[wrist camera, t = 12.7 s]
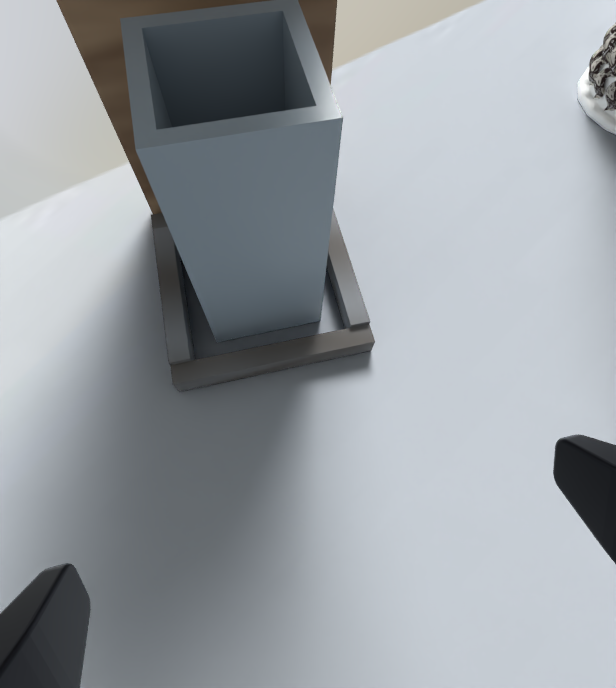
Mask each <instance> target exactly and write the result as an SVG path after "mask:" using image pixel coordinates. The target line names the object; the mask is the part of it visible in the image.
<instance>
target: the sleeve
mask: <svg viewBox="0 0 616 688" xmlns="http://www.w3.org/2000/svg"><path fill="white" fill-rule="evenodd" d="M120 22H121V31H122V39H123V47H124V56H125V64H126V73H127V81H128V90H129V98H130V107H131V115H132V124H133V132H134V141H135V149H136V152H137V154H138V157H139V159H140V161H141V164H142V166H143V168H144V171H145V173H146V176H147V178H148V180H149V183H150V185H151V187H152V190H153V192H154V195H155V197H156V199H157V202H158V204H159V206H160V209H161V211H162V214H163V216H164V218H165V221H166V223H167V225H168V228H169V230H170V233H171V235H172V237H173V240H174V242H175V244H176V247H177V249H178V252H179V254H180V256H181V259H182V261H183V263H184V266H185V268H186V271H187V273H188V275H189V278H190V280H191V282H192V285H193V287H194V290H195V292H196V294H197V297H198V299H199V301H200V304H201V306H202V309H203V311H204V313H205V316H206V318H207V320H208V323H209V325H210V328H211V330H212V332H213V335H214V337H215V339H216V342H222V341H226V340H231V339H236V338H241V337H245V336H250V335H255V334H260V333H265V332H269V331H274V330H279V329H284V328H289V327H293V326H298V325H303V324H308V323H313V322H317V321H320V320H321V311H322V302H323V293H324V284H325V275H326V266H327V257H328V248H329V239H330V230H331V221H332V212H333V203H334V194H335V185H336V176H337V167H338V158H339V149H340V140H341V131H342V122H343V116H342V114H341V111H340V109H339V106H338V103H337V101H336V98H335V96H334V93H333V90H332V88H331V85H330V83H329V80H328V77H327V75H326V72H325V70H324V67H323V64H322V62H321V59H320V57H319V54H318V51H317V49H316V46H315V44H314V41H313V38H312V36H311V33H310V31H309V28H308V25H307V23H306V20H305V18H304V15H303V12H302V10H301V7H300V5H299V2H298V0H271V1H262V2H254V3H245V4H237V5H229V6H220V7H212V8H204V9H195V10H187V11H178V12H170V13H162V14H153V15H145V16H137V17H128V18H120Z"/></svg>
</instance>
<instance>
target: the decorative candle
mask: <svg viewBox="0 0 616 688" xmlns="http://www.w3.org/2000/svg"><path fill="white" fill-rule="evenodd" d="M577 98H578V101H579V102H580V104H581V106H582V107H583V109H584V111H585V112H586V114H587V116H589V117H590V118H591V119H592V120H594V121H595V122H596V123H597V124H598V125H600V126H601V127H602V128H603V129H604V130H606V131H608V132H611V133H613V134H615V135H616V23H615V24H614V25H613V26H612V27H611V28H610V29H609V30H608V31H607V33H606V34H605V37H604V41H603V45H602V46H601V47H600V48H599V50H597V51H596V52H595V53H594V54H593V56H592V57H591V59H590V63H589V67H588V68H587V70H586V71H585V73H584V74H583V76H582V77H581V78H580V80H579V81H578V83H577Z"/></svg>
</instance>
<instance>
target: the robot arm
mask: <svg viewBox="0 0 616 688" xmlns="http://www.w3.org/2000/svg"><path fill="white" fill-rule="evenodd" d="M553 474H554V479H555V482H556V484H557V486H558V487H559V489H560V490H561V491H562V493H563V494H564V495H565V497H566V498H567V500H568V501H569V502H570V504H571V505H572V506H573V508H574V509H575V510H576V512H577V513H578V515H579V516H580V517H581V519H582V520H583V521H584V523H585V524H586V526H587V527H588V528H589V530H590V531H591V532H592V534H593V535H594V536H595V538H596V539H597V541H598V542H599V543H600V545H601V546H602V547H603V549H604V550H605V551H606V552H607V554H608V555H609V556H610V558H611V559H612V560H613V561H614V562H615V564H616V445H613V444H610V443H607V442H603V441H600V440H597V439H594V438H590V437H587V436H584V435H572V436H568V437H564V438H561V439H559V440H558V441H557V443H556V446H555V457H554V470H553ZM89 617H90V599H89V595H88V593H87V591H86V589H85V587H84V585H83V583H82V581H81V578H80V576H79V574H78V572H77V570H76V568H75V567H74V566H73V565H72V564H68V563H67V564H62V565H58V566H54V567H50V568H47V569H45V570H43V571H42V572H41V573H40V574H39V575H38V576H37V577H36V578H35V579H34V580H33V581H32V582H31V583H30V584H29V585H28V586H27V587H26V588H25V589H24V590H23V591H22V592H21V593H20V594H19V595H18V596H17V597H16V598H15V599H14V600H13V601H12V602H11V603H10V604H9V605H8V606H7V607H6V608H5V610H4V611H3V612H2V613H1V614H0V688H80V683H81V675H82V668H83V661H84V653H85V646H86V639H87V631H88V624H89Z"/></svg>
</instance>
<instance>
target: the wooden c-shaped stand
mask: <svg viewBox="0 0 616 688" xmlns="http://www.w3.org/2000/svg"><path fill="white" fill-rule="evenodd" d="M262 1H271V0H57V3H58V5H59V7H60V9H61V12H62V14H63V16H64V18H65V20H66V23H67V25H68V27H69V29H70V31H71V34H72V36H73V38H74V40H75V43H76V45H77V47H78V49H79V51H80V54H81V56H82V58H83V60H84V62H85V65H86V67H87V69H88V71H89V73H90V75H91V78H92V80H93V82H94V85H95V87H96V89H97V91H98V93H99V95H100V98H101V100H102V102H103V104H104V107H105V109H106V111H107V113H108V116H109V118H110V120H111V122H112V124H113V127H114V129H115V131H116V133H117V136H118V138H119V140H120V142H121V144H122V146H123V149H124V151H125V153H126V155H127V158H128V160H129V162H130V164H131V167H132V169H133V171H134V173H135V175H136V178H137V180H138V182H139V184H140V186H141V189H142V191H143V193H144V195H145V198H146V200H147V202H148V204H149V206H150V209H151V211H152V213H153V215H151V219H152V227H153V236H154V244H155V252H156V261H157V269H158V277H159V286H160V294H161V302H162V311H163V319H164V327H165V336H166V344H167V352H168V361H169V364H170V366H171V374H172V382H173V385H174V386H175V388H176V389H177V390H178V391H179V392H181V391H186V390H190V389H195V388H200V387H204V386H209V385H214V384H218V383H223V382H228V381H232V380H237V379H242V378H246V377H251V376H255V375H260V374H265V373H269V372H274V371H279V370H283V369H288V368H293V367H297V366H302V365H307V364H311V363H316V362H321V361H325V360H330V359H335V358H339V357H344V356H349V355H353V354H358V353H363V352H367V351H371V350H372V347H373V345H374V343H375V340H374V337H373V334H372V331H371V328H370V325H369V323H370V319H369V316H368V313H367V310H366V307H365V304H364V301H363V298H362V295H361V292H360V289H359V286H358V283H357V280H356V277H355V273H354V270H353V267H352V264H351V261H350V258H349V255H348V252H347V249H346V246H345V243H344V240H343V237H342V234H341V231H340V228H339V225H338V222H337V218H336V215H335V212H334V209H333V212H332V221H331V230H330V239H329V248H328V257H327V266H326V267H327V270H328V273H329V277H330V280H331V283H332V287H333V290H334V293H335V297H336V300H337V304H338V307H339V310H340V314H341V317H342V320H343V324H344V327H345V329H342V330H337V331H332V332H327V333H323V334H318V335H313V336H308V337H303V338H298V339H294V340H289V341H284V342H279V343H274V344H270V345H265V346H260V347H255V348H250V349H245V350H241V351H236V352H231V353H226V354H221V355H216V356H212V357H207V358H202V359H197V360H195V355H194V349H193V342H192V335H191V328H190V321H189V314H188V307H187V301H186V294H185V287H184V280H183V273H182V266H181V259H180V254H179V252H178V249H177V247H176V244H175V242H174V240H173V237H172V235H171V233H170V230H169V228H168V225H167V223H166V221H165V218H164V216H163V214H162V211H161V209H160V206H159V204H158V202H157V199H156V197H155V195H154V192H153V190H152V187H151V185H150V183H149V180H148V178H147V176H146V173H145V171H144V168H143V166H142V164H141V161H140V159H139V157H138V154H137V152H136V149H135V141H134V132H133V124H132V115H131V107H130V98H129V90H128V81H127V73H126V64H125V56H124V47H123V39H122V31H121V22H120V18H128V17H137V16H145V15H153V14H162V13H170V12H178V11H187V10H195V9H204V8H212V7H220V6H229V5H237V4H245V3H254V2H262ZM298 2H299V5H300V7H301V10H302V12H303V15H304V18H305V20H306V23H307V25H308V28H309V31H310V33H311V36H312V38H313V41H314V44H315V46H316V49H317V51H318V54H319V57H320V59H321V62H322V64H323V67H324V70H325V72H326V75H327V77H328V80H329V83H330V85H331V74H332V61H333V48H334V35H335V22H336V8H337V0H298Z"/></svg>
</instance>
